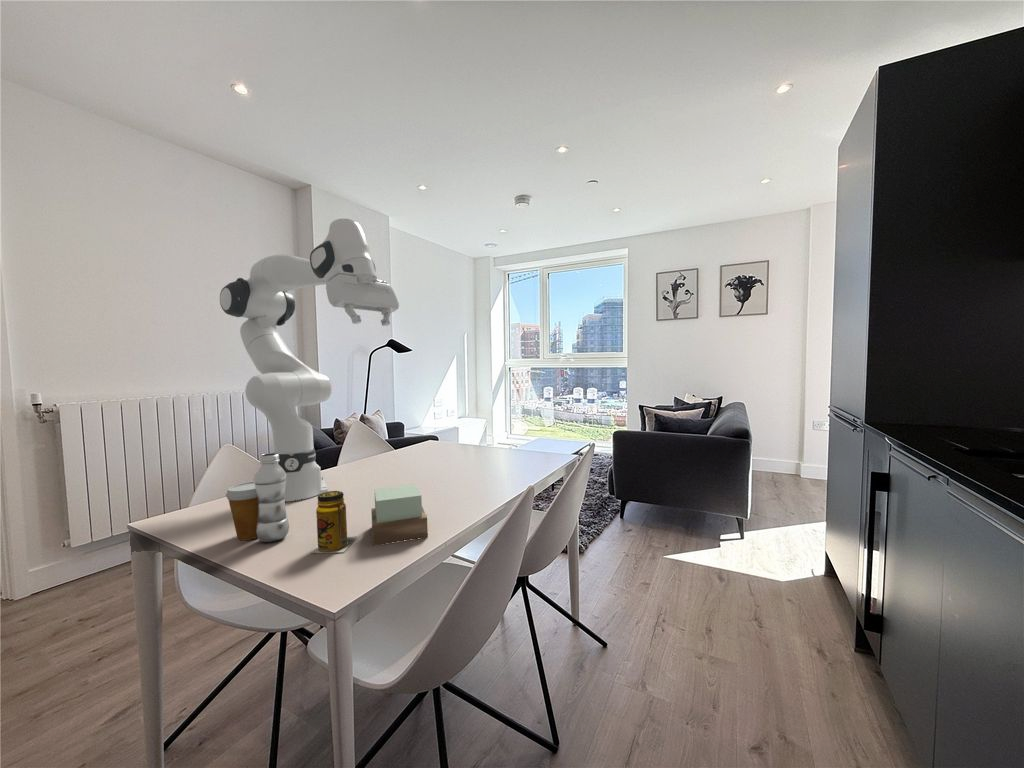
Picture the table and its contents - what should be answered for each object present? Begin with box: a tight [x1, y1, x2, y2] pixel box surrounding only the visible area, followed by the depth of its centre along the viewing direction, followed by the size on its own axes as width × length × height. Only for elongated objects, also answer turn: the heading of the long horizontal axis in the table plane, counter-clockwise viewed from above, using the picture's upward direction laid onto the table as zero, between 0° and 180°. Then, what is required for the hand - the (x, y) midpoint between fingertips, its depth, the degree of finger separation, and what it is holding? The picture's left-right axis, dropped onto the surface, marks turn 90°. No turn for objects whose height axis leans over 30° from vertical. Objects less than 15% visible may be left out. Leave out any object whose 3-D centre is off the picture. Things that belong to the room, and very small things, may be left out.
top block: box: [374, 483, 423, 523], centre depth 100 cm, size 10×10×5 cm
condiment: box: [310, 490, 359, 554], centre depth 93 cm, size 7×8×12 cm
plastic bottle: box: [253, 452, 290, 543], centre depth 97 cm, size 6×7×20 cm
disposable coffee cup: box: [225, 480, 258, 541], centre depth 100 cm, size 10×10×12 cm
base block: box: [371, 506, 429, 547], centre depth 100 cm, size 12×12×5 cm
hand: (372, 324), depth 110 cm, fingers open, 8 cm apart
